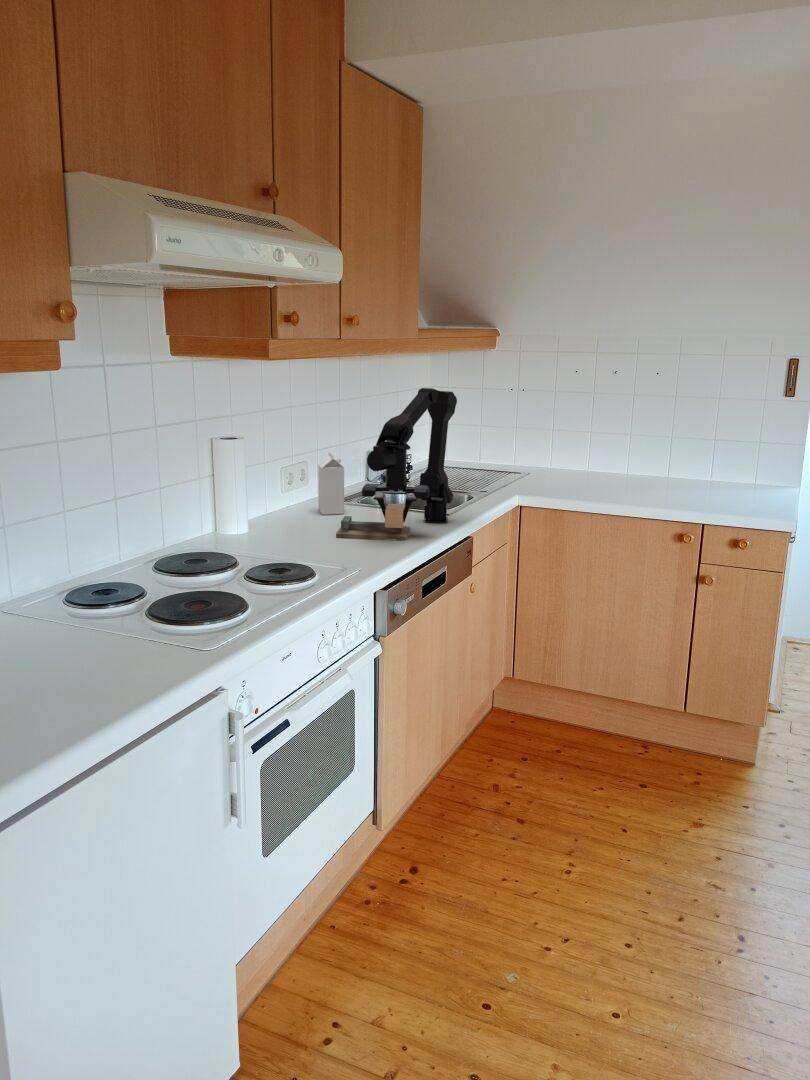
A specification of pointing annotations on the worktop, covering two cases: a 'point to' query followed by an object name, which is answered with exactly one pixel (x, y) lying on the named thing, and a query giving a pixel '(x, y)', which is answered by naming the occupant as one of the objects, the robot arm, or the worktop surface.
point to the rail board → (375, 534)
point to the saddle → (394, 515)
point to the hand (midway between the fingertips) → (395, 520)
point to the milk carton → (331, 486)
